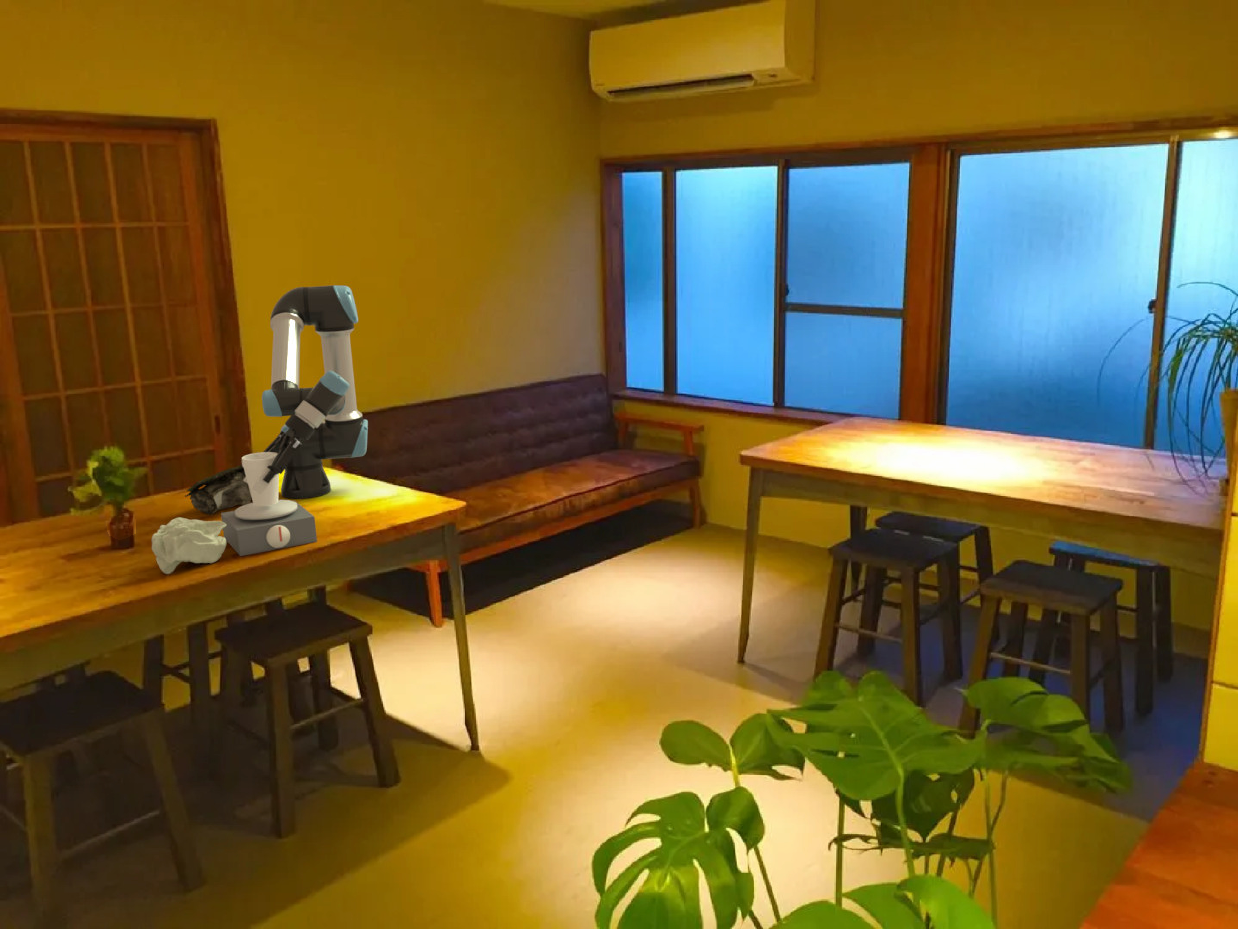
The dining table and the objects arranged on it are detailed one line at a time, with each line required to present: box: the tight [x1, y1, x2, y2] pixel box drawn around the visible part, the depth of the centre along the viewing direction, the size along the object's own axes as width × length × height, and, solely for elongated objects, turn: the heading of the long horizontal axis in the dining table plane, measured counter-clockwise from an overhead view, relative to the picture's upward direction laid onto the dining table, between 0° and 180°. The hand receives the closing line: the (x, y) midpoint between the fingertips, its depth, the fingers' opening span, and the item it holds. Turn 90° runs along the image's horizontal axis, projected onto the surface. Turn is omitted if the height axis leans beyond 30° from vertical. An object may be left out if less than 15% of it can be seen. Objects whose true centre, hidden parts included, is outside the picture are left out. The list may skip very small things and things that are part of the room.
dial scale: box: [220, 499, 318, 557], centre depth 279 cm, size 21×20×9 cm
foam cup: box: [241, 451, 280, 506], centre depth 276 cm, size 10×9×13 cm
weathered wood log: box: [184, 464, 252, 516], centre depth 313 cm, size 28×13×15 cm
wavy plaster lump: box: [151, 516, 228, 575], centre depth 259 cm, size 18×13×16 cm
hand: (251, 487), depth 275 cm, fingers closed on foam cup, 9 cm apart
